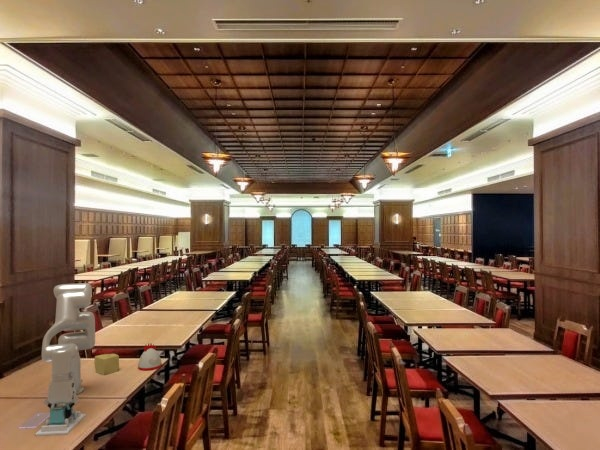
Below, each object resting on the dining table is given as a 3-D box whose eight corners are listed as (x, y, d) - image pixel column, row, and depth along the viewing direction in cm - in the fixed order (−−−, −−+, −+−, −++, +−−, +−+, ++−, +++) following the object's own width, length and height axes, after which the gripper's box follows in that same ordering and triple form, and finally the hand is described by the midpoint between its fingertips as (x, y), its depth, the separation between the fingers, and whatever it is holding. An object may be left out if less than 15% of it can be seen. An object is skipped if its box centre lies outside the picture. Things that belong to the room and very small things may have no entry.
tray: (56, 416, 190) (56, 407, 190) (85, 415, 191) (85, 406, 191) (34, 435, 172) (34, 425, 172) (67, 434, 173) (67, 424, 173)
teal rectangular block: (61, 414, 187) (61, 400, 187) (72, 414, 187) (72, 400, 187) (49, 424, 177) (49, 410, 177) (61, 424, 177) (61, 409, 177)
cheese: (110, 367, 259) (110, 352, 260) (119, 371, 253) (119, 354, 253) (94, 372, 251) (94, 356, 251) (103, 376, 245) (103, 359, 245)
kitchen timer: (134, 367, 260) (134, 343, 261) (155, 362, 270) (155, 339, 270) (143, 372, 250) (143, 347, 250) (165, 367, 260) (165, 343, 260)
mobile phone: (17, 427, 179) (36, 412, 194) (17, 429, 179) (36, 414, 194) (35, 426, 180) (53, 411, 194) (35, 428, 180) (53, 413, 194)
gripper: (85, 373, 187) (85, 413, 186) (46, 374, 185) (46, 415, 185) (77, 378, 179) (77, 420, 179) (36, 380, 178) (36, 422, 178)
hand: (61, 417), depth 182 cm, fingers closed on teal rectangular block, 5 cm apart
